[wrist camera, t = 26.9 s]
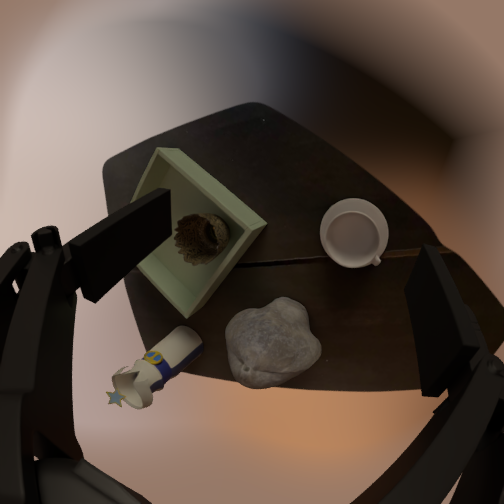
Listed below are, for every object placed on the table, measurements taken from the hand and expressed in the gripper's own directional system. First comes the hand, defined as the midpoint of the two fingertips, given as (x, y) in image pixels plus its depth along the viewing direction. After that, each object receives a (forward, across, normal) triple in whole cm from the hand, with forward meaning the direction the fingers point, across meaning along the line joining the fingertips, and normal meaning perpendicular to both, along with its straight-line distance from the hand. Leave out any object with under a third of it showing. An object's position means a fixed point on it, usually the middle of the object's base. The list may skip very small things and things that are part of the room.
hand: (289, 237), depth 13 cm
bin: (+27, -20, -17) cm, 38 cm away
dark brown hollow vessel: (+26, -14, -15) cm, 33 cm away
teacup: (+25, +7, -10) cm, 28 cm away
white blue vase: (+22, -19, -40) cm, 50 cm away
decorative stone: (+23, 0, -28) cm, 36 cm away
